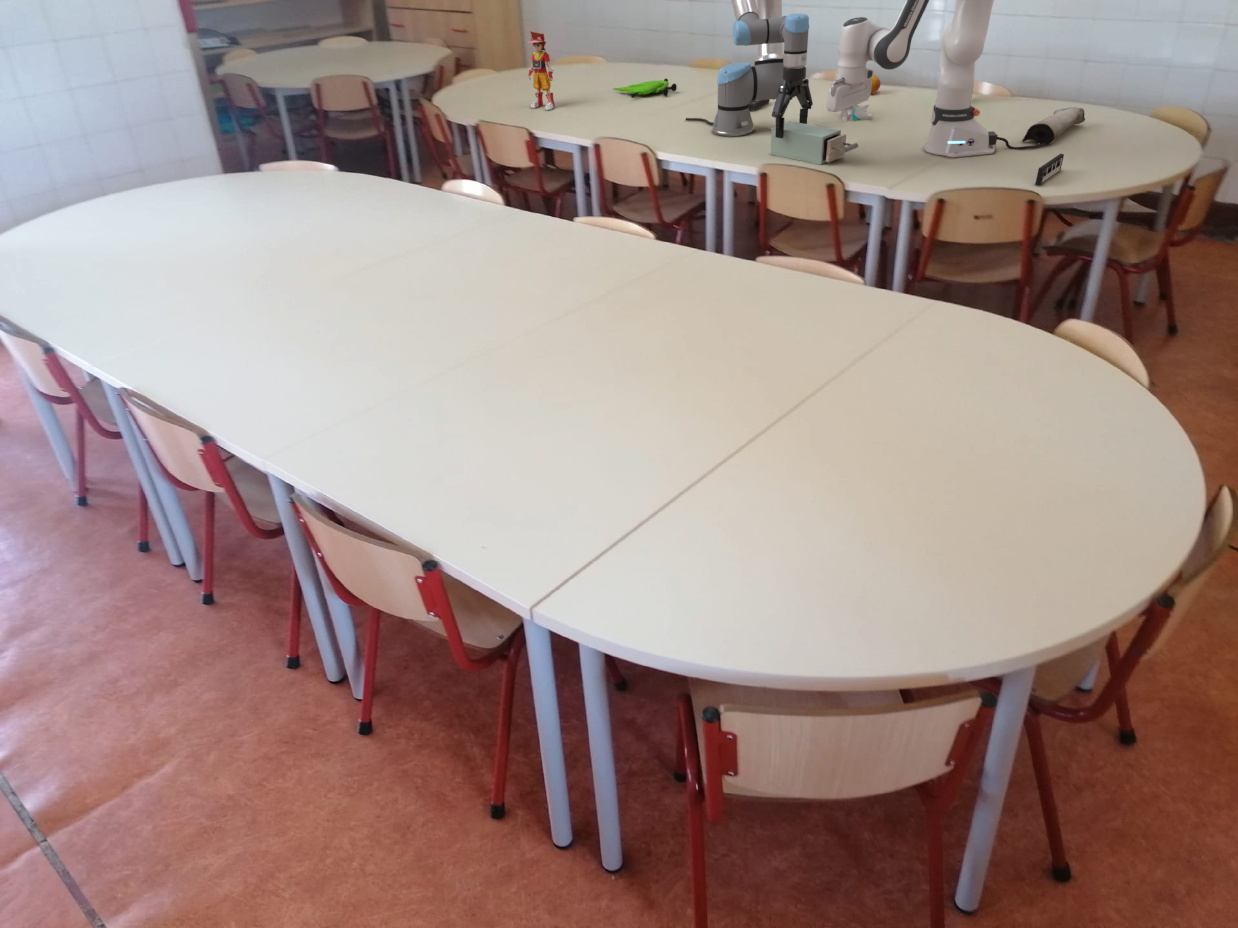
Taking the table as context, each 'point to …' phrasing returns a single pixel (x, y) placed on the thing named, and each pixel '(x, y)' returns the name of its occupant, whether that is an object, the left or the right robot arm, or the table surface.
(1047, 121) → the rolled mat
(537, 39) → the toy
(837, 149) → the drawer
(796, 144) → the cabinet
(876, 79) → the fruit
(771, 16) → the left robot arm
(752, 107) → the disk drive
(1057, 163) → the midi keyboard
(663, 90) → the toy
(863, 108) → the anatomical model
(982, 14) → the right robot arm
